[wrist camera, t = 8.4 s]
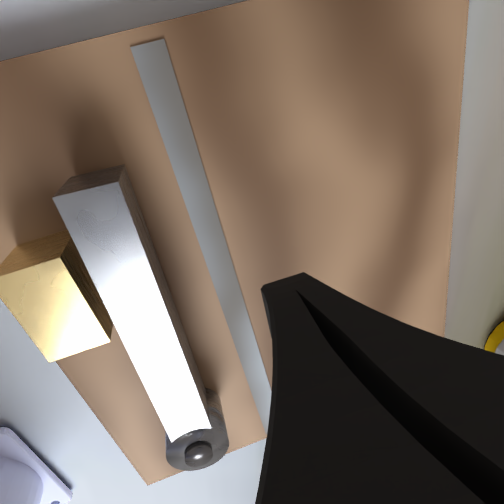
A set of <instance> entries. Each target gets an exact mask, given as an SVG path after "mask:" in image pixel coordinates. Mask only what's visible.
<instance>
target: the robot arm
mask: <svg viewBox="0 0 504 504" xmlns="http://www.w3.org/2000/svg"><path fill="white" fill-rule="evenodd" d="M260 290H261V294H262V298H263V303H264V307H265V312H266V316H267V321H268V325H269V330H270V334H271V338H272V357H273V369H272V392H271V404H270V414H269V424H268V432H267V439H266V446H265V452H264V458H263V464H262V470H261V475H260V481H259V487H258V492H257V497H256V502H255V504H504V355H501V354H497V353H493V352H490V351H487V350H483V349H480V348H476V347H473V346H469V345H466V344H463V343H459V342H456V341H453V340H450V339H447V338H444V337H441V336H438V335H436V334H433V333H430V332H427V331H425V330H422V329H419V328H416V327H414V326H411V325H409V324H406V323H404V322H401V321H399V320H397V319H394V318H392V317H390V316H388V315H385V314H383V313H381V312H378V311H376V310H374V309H372V308H370V307H368V306H366V305H364V304H362V303H360V302H358V301H356V300H354V299H352V298H350V297H348V296H346V295H344V294H342V293H341V292H339V291H337V290H335V289H333V288H331V287H330V286H328V285H326V284H324V283H323V282H321V281H319V280H317V279H316V278H314V277H312V276H310V275H308V274H307V273H305V272H302V273H299V274H296V275H293V276H290V277H286V278H283V279H280V280H277V281H274V282H271V283H268V284H264V285H263V286H262V288H261V289H260ZM72 494H73V493H72V491H71V490H70V489H69V488H68V487H67V486H66V485H65V484H64V483H63V482H62V481H61V480H60V479H59V478H58V477H57V476H56V475H55V474H54V473H53V472H52V471H51V470H50V469H49V468H48V467H47V466H46V465H45V464H44V463H43V462H42V461H41V460H40V459H39V458H38V457H37V456H36V454H35V453H34V452H33V451H32V450H31V449H30V448H29V447H28V446H27V445H26V444H25V443H24V442H23V441H22V440H21V439H20V438H19V437H18V436H17V435H16V434H15V433H14V432H13V431H12V430H11V429H9V428H6V427H1V428H0V504H67V503H68V502H70V501H71V499H72Z"/></svg>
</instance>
